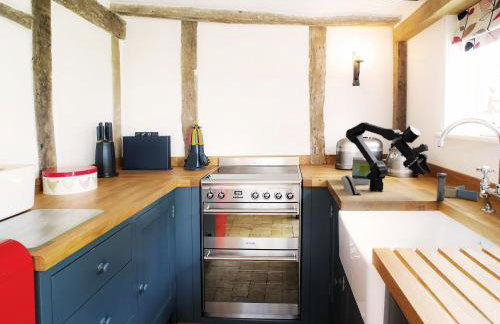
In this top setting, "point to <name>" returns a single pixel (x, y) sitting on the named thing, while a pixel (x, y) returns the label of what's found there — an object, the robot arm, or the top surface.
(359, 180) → the tea box
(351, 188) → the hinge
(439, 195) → the pin
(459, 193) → the hinge barrel
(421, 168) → the robot arm
